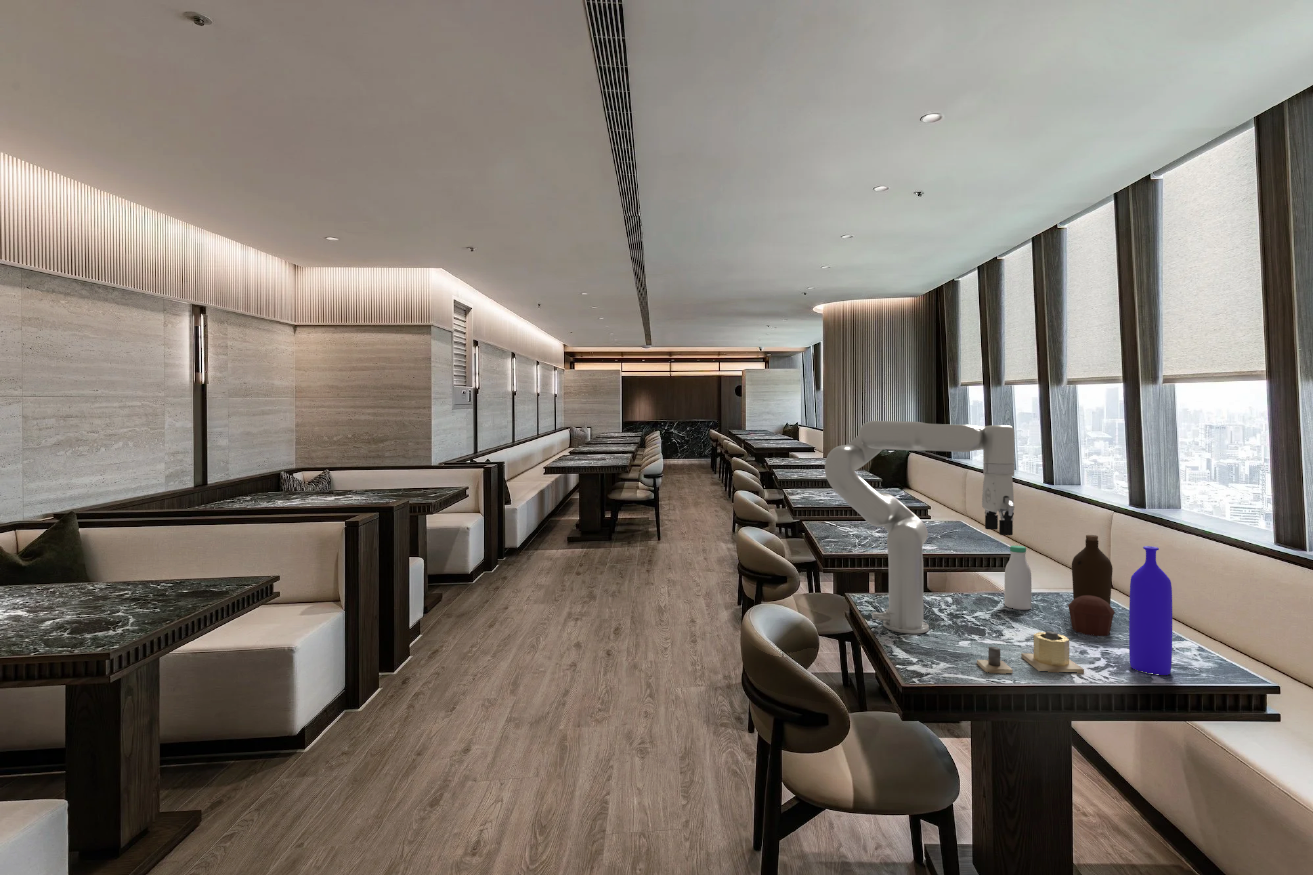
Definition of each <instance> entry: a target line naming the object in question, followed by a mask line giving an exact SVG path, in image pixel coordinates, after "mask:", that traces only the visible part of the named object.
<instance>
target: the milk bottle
mask: <svg viewBox="0 0 1313 875" xmlns="http://www.w3.org/2000/svg"><path fill="white" fill-rule="evenodd" d="M1009 553H1010V556H1009V560H1008V561H1007V563H1006V566H1005V570H1004V606H1005V607H1006V606H1007V607H1006V608H1009V609H1012V608H1013V609H1014V610H1018V611H1019V610H1021V611H1028V610H1031V609H1032V601H1033V600H1032V597H1033V596H1032V590H1033V589H1032V570H1031V567H1030V565H1029V563H1028V561H1027V558H1026V555H1027V547H1026V546H1023V545H1010V546H1009ZM1013 609H1012V610H1013Z"/></svg>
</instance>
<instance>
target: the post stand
mask: <svg viewBox="0 0 1313 875" xmlns="http://www.w3.org/2000/svg"><path fill="white" fill-rule="evenodd" d="M1045 632H1046V639H1050V640H1058V634H1059V633H1058V632H1056V631H1049V630H1048V631H1045ZM1020 656H1021V659H1023V660H1025V661H1026V662H1027V663H1028V664H1029V665H1031V666H1032V667H1033V668H1034V669H1035V670H1037V671H1038V672H1039V671H1048V672H1047V673H1059V672H1077V673H1076V674H1085V668H1083V667H1081V666H1080V665H1079V664H1078V663H1075V662H1074V661H1073V660H1071V659H1070V658H1069V664H1068V665H1066V666H1050V665H1047V664H1043V663H1039V662H1038V661H1036V660H1035V659H1034V653H1026V652H1021V655H1020Z"/></svg>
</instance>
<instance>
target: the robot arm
mask: <svg viewBox="0 0 1313 875" xmlns="http://www.w3.org/2000/svg"><path fill="white" fill-rule="evenodd" d="M883 450H894V451H895V450H896V451H897V450H898V451H916V452H922V451H923V452H924V451H931V452H932V451H933V452H956V453H968V452H973V451H982V450H983V459H982V460H983V461H982V463H983V464H982V465H983V470H982V471H983V482H982V483H983V484H982V495H981V496H982V497H981V500H982V501H981V506H982V508H983V509H984V529H985V530H996V531H997V530H998V529H999V530H998V532H999V533H998V535H1000V536H1013V532H1014V531H1013V530H1014V529H1013V528H1014V523H1013V522H1014V515H1015V514H1014V512H1015V504H1014V503H1015V502H1014V499H1015V498H1014V497H1015V496H1014V484H1013V483H1014V481H1013V477H1014V476H1015V429H1014V427H1013V426H1012V425H1007V424H1006V425H1005V424H999V425H998V424H994V425H992V424H991V425H986V426H984V425H983V426H982V425H976V424H975V425H974V424H951V423H950V424H947V423H946V424H944V423H943V424H942V423H926V422H922V421H921V422H920V421H899V420H897V421H896V420H870V421H867V422H865V423H863V424H862V425H861V427H860V428H859V431H858V435H857V436H856V437H854V438H853V439H852V440H851V441H850V442H848V443H847V444H841V445H838V446H836V447H834V448H832V449H831V450H829V452H828V454H827V457H826V459H825V463H824V473H825V478H826V479H827V482H828V484H829V486H830V487H831V488H832V489H833V490H834V492H836V493H837V494H838V495H839V496H840V497H841V498H842V499H843V500H844V501H845V502H847V504H848V505H849V506H850V507H851V508H852V509H853V510H855V512H857V513H858V514H859V516H861V517H862V518H863V519H864V520H865V521H866V522H867V523H868V524H870V525H871V526H874V527H877V528H878V527H882V528H884V529H885V530H886V531H887V538H886V544H887V545H886V546H887V557H888V608H886V609H885V611H883V612H871V617H872V620H878V621H881V622H883V625H882V626H883V627H884V628H885V629H887V630H889V631H892V632H896V633H901V634H909V635H911V634H915V635H917V634H924V633H926V632H928V631H929V630H930V626H929V624H928V623H927V622H925V621H924V561H923V560H924V557H923V545H924V544H925V543H926V541H927V539H928V535H929V533H928V529H927V528H928V527H927V526H926V524H925V523H924V522H923V520H921V519H920V517H918V516H917V515H916V514H915V513H914V512H912V510H910V509H909V508H908V507H907V506H905V505H904V503H902V501H900V500H899V499H898V498H896V497H895V496H893V495H892V494H891V493H886V492H879V491H877V490H875V489H874V488H873V487H872V486H871V485H870V484H869V483H868V482H867V481H866V480H864V479H863V478H862V477H860V476H859V475H858V474H857V472H856V471H857V470H859V469H861V468H862V467H864V466H865V465H866V464H868V463H869V462H870V461H871V460H872V459H874V458H875V457H877V455H878V454H880V452H883ZM997 513H998V514H999V515H998V514H997ZM998 517H999V518H1000V519H999V518H998Z"/></svg>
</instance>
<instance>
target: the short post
mask: <svg viewBox="0 0 1313 875" xmlns="http://www.w3.org/2000/svg"><path fill="white" fill-rule="evenodd" d="M987 650H988V659H976V664H977V665H978V666H979V667H980V668H981V669H982V670H983V671H984V672H985V673H986V672H987V674H1006V673H1013V670H1014V669H1013V668H1011V667H1010V666H1009V665H1008V664H1007V663H1006V662H1005V661H1003V660H1001V648H1000V647H997V646H988V649H987ZM988 672H989V673H988Z"/></svg>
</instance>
